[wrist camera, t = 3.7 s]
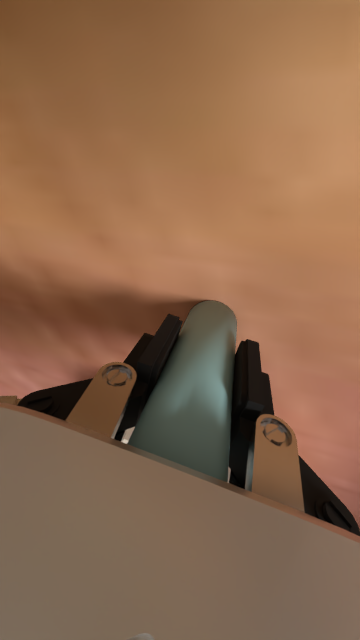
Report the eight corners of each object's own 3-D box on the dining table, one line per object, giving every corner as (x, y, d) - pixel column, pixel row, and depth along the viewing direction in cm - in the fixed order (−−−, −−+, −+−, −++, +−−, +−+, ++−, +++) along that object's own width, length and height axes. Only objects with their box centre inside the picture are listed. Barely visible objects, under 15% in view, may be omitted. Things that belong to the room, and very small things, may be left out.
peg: (194, 294, 14) (112, 453, 5) (244, 309, 14) (244, 505, 5) (182, 335, 15) (103, 513, 7) (227, 350, 15) (204, 556, 6)
